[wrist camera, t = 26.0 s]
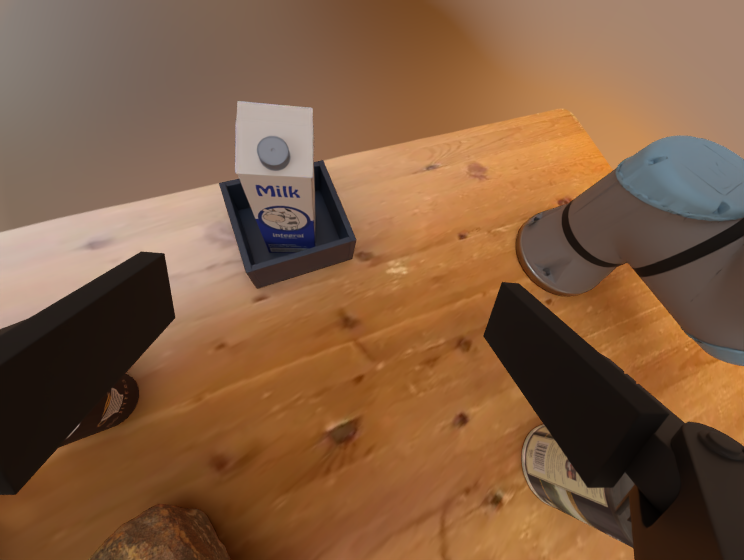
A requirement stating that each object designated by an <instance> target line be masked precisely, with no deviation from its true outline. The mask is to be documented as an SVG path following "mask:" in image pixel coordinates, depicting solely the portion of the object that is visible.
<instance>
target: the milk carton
mask: <svg viewBox="0 0 744 560" xmlns="http://www.w3.org/2000/svg"><path fill="white" fill-rule="evenodd" d="M235 173H237V174H238V177H239V179H240V182H241V184H242V187H243V189H244V192H245V194H246V197H247V199H248V202H249V204H250V207H251V209H252V212H253V214H254V216H255V219H256V221H257V224H258V226H259V229H260V231H261V234H262V236H263V239H264V241H265V244H266V246H267V249H268V251H269V253H295V252H299V251H302V250H305V249H309V248H312V247H315V241H316V206H315V181H314V130H313V110H312V108H307V107H296V106H285V105H275V104H264V103H253V102H242V101H238V104H237V119H236V141H235Z"/></svg>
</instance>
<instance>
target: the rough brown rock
mask: <svg viewBox="0 0 744 560" xmlns="http://www.w3.org/2000/svg"><path fill="white" fill-rule="evenodd" d="M88 560H231V559H230V557H229V555H228V554H227V552H226V548H225V546H224V544H223V543H221V542H220V541H219V539H218V537H217V535H216V532H215V530H214V528H213V527H212V525H211V523H210V521H209V519H208V517H207V515H206V514H205V513H204V512H202V511H200V510H199V509H182V508H181V507H176V506H171V505H166V504H158V505H155V506H153V507H151V508H149V509H148V510H146V511H144V512H142V513H141V514H140V515H139V516H137V517H135V518H134V519H132V520H130V521H129V522H127V523H125V524H123V525H122V526H120V527H119V528H118V529H117V530H116V531H115V532H114V533H113V534H112V535H111V536H110V537H109V538H108V539H107V540H106V541H105V542H104V543H103V544H102V545H101V546H100V548H99V549H98V550H97V551H96V552H95V553H94V554H93V555H92V556H91V557H90V558H89V559H88Z"/></svg>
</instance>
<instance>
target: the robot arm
mask: <svg viewBox="0 0 744 560" xmlns="http://www.w3.org/2000/svg"><path fill="white" fill-rule="evenodd" d="M516 251H517V256H518V259H519V262H520V264H521V266H522V268H523V269H524V271H525V272H526V274H527V275H528V276H529V277H530V278H531V280H532V281H533V282H535V283H536V284H537V285H538V286H540V287H541V288H543V289H544V290H546V291H548V292H550V293H553V294H556V295H560V296H575V295H578V294H581V293H584V292H587V291H589V290H591V289H593V288H594V287H595V286H597V285H598V284H599V283H600V282H601V281H602V280H603V279H604V278H605V277H606V276H608V275H609V274H610V273H611V272H612V271H613V270H614V269H615V268H616V267H618V266H620V265H623V264H625V263H628V264H629V265H630V266H631V267H632V268H633V269H634V271H635V272H636V273H637V274H638V275H639V277H640V278H641V279H642V280H643V281H644V283H645V284H646V285H647V286H648V287H649V289H650V290H651V291H652V292H653V294H654V295H655V296H656V297H657V298H658V300H659V301H660V302H661V303H662V304H663V306H664V307H665V308H666V309H667V311H668V312H669V313H670V314H671V315H672V317H673V318H674V319H675V320H676V321H677V323H678V324H679V325H680V327H681V329H682V330H684V332H685V333H686V334H687V335H688V336H689V337H690V338H692V339H693V340H694V341H695V342H696V343H697V344H698V345H699V346H700V347H701V348H702V349H703V350H704V351H705V352H707V353H708V354H709V355H711V356H713V357H715V358H717V359H719V360H721V361H724V362H727V363H730V364H735V365H740V366H744V159H742V158H741V157H740V156H738V155H737V154H735V153H734V152H732V151H730V150H729V149H727V148H725V147H724V146H721V145H719V144H717V143H715V142H712V141H709V140H706V139H703V138H696V137H692V136H671V137H666V138H662V139H660V140H657V141H655V142H653V143H651V144H650V145H648V146H647V147H645V148H644V149H642V150H641V151H639V152H638V153H636V154H635V155H633V156H631V157H629V158H627V159H625V160H623V161H622V162H621V163H620V164H619V165H618V167H617V168H616V169H615V170H613V171H612V172H611V173H609V174H608V175H607V176H605V177H604V178H602V179H601V180H600V181H598V182H597V183H596V184H594V185H593V186H591V187H590V188H589V189H587V190H586V191H585V192H583V193H582V194H580V195H579V196H578V197H576V198H575V199H574V200H572V201H571V202H570V203H568V204H566V205H562V206H559V207H556V208H553V209H550V210H547V211H544V212H541V213H538V214H536V215H535V216H533V217H532V218H530V219H529V220H528V221H527V222H526V223H524V224H523V226H522V227H521V228H520V230H519V232H518V235H517V238H516ZM174 319H175V313H174V307H173V301H172V295H171V289H170V284H169V278H168V272H167V266H166V260H165V254H163V253H152V252H140V253H138V254H137V255H135V256H133V257H131V258H130V259H128V260H126V261H125V262H123V263H121V264H120V265H118V266H116V267H115V268H113V269H111V270H110V271H108V272H106V273H105V274H103V275H101V276H99V277H98V278H96V279H94V280H93V281H91V282H89V283H88V284H86V285H84V286H83V287H81V288H79V289H78V290H76V291H74V292H72V293H71V294H69V295H67V296H66V297H64V298H62V299H61V300H59V301H57V302H56V303H54V304H52V305H51V306H49V307H47V308H46V309H44V310H42V311H40V312H39V313H37V314H35V315H34V316H32V317H30V318H29V319H26V320H23V321H21V322H18V323H16V324H13V325H10V326H8V327H5V328H2V329H0V495H16V494H17V493H18V492H19V490H20V489H21V488H22V487H23V486H24V485H25V484H26V483H27V482H28V480H29V479H30V478H31V477H32V476H33V475H34V474H35V473H36V472H37V471H38V469H39V468H40V467H41V466H42V465H43V464H44V463H45V462H46V461H47V459H48V458H49V457H50V456H51V455H52V454H53V453H54V452H55V451H56V449H57V448H58V447H59V446H60V445H61V444H62V443H63V442H64V441H65V440H66V438H67V437H68V436H69V435H70V434H71V433H72V432H73V431H74V430H75V428H76V427H77V426H78V425H79V424H80V423H81V422H82V421H83V420H84V418H85V417H86V416H87V415H88V414H89V413H90V412H91V411H92V410H93V408H94V407H95V406H96V405H97V404H98V403H99V402H100V401H101V400H102V399H103V397H104V396H105V395H106V394H107V393H108V392H109V391H110V390H111V389H112V387H113V386H114V385H115V384H116V383H117V382H118V381H119V380H120V379H121V377H122V376H123V375H124V374H125V373H126V372H127V371H128V370H129V369H130V368H131V366H132V365H133V364H134V363H135V362H136V361H137V360H138V359H139V358H140V356H141V355H142V354H143V353H144V352H145V351H146V350H147V349H148V348H149V346H150V345H151V344H152V343H153V342H154V341H155V340H156V339H157V338H158V336H159V335H160V334H161V333H162V332H163V331H164V330H165V329H166V328H167V327H168V325H169V324H170V323H171V322H172V321H173V320H174ZM483 336H484V338H485V339H486V341H487V342H488V344H489V345H490V346H491V348H492V349H493V351H494V352H495V354H496V355H497V357H498V358H499V360H500V361H501V362H502V364H503V365H504V367H505V368H506V370H507V371H508V373H509V374H510V376H511V377H512V379H513V380H514V381H515V383H516V384H517V386H518V387H519V389H520V390H521V392H522V393H523V395H524V396H525V397H526V399H527V400H528V402H529V403H530V405H531V406H532V408H533V409H534V411H535V412H536V414H537V415H538V416H539V418H540V419H541V421H542V422H543V424H544V425H545V427H546V428H547V430H548V431H549V432H550V434H551V435H552V437H553V438H554V440H555V441H556V443H557V444H558V446H559V447H560V448H561V450H562V451H563V453H564V454H565V456H566V457H567V459H568V460H569V462H570V463H571V465H572V466H573V467H574V469H575V470H576V472H577V473H578V475H579V476H580V478H581V479H582V481H583V482H584V483H585V485H586V486H587V488H613V487H614V486H615V485H616V484H617V482H618V481H619V480H620V478H621V477H622V476H623V474H624V473H626V474H627V475H628V477H629V478H630V479H631V480H632V481H633V483H634V486H633V487H632V488H631V489H630V491H629V492H628V493H627V494H626V496H625V497H624V498H623V499H622V501H621V502H620V503H619V504H618V506H617V507H616V511H615V513H616V514H617V515H619V516H620V515H621V514H622V513H623V512H624V511H625V509H628V508H629V509H630V514H631V516H630V517H629V518H628V519H627V521H629V522H631V525H632V536H633V548H634V559H635V560H744V446H743V445H741V444H740V443H738V442H737V441H735V440H734V439H732V438H731V437H729V436H728V435H726V434H724V433H722V432H720V431H718V430H716V429H714V428H712V427H709V426H706V425H703V424H700V423H695V422H687V423H684V422H683V421H682V420H680V419H679V418H678V417H677V416H676V415H675V414H673V413H672V412H671V411H670V410H669V409H668V408H666V407H665V406H664V405H663V404H662V403H661V402H659V401H658V400H657V399H656V398H655V397H654V396H652V395H651V394H650V393H649V392H648V391H646V390H645V389H644V388H643V387H642V386H641V385H639V384H636V381H635V380H634V379H632V378H631V377H630V376H629V375H628V374H624V371H623V370H622V369H621V368H620V367H618V366H617V365H616V364H615V363H614V362H612V361H611V360H610V359H608V358H607V357H605V356H604V355H602V354H600V353H599V352H598V351H596V350H595V349H594V348H593V347H592V346H591V345H589V344H588V343H587V342H586V341H585V340H584V339H582V338H581V337H580V336H579V335H578V334H577V333H576V332H574V331H573V330H572V329H571V328H570V327H569V326H567V325H566V324H565V323H564V322H563V321H562V320H560V319H559V318H558V317H557V316H556V315H555V314H554V313H552V312H551V311H550V310H549V309H548V308H547V307H545V306H544V305H543V304H542V303H541V302H540V301H538V300H537V299H536V298H535V297H534V296H533V295H532V294H530V293H529V292H528V291H527V290H526V289H525V288H523V287H522V286H521V285H520V284H518V283H507V282H502V283H501V286H500V289H499V292H498V295H497V298H496V301H495V304H494V307H493V309H492V312H491V315H490V318H489V321H488V324H487V327H486V330H485V333H484V335H483Z"/></svg>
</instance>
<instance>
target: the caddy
mask: <svg viewBox="0 0 744 560" xmlns="http://www.w3.org/2000/svg"><path fill="white" fill-rule="evenodd" d="M314 181H315V206H316V241H315V247H312V248H309V249H305V250H302V251H299V252H295V253H269V251H268V249H267V246H266V244H265V241H264V239H263V236H262V234H261V231H260V229H259V226H258V224H257V221H256V219H255V216H254V214H253V212H252V209H251V207H250V204H249V202H248V199H247V197H246V194H245V192H244V189H243V187H242V184H241V182H240V179H235V180H231V181H226V182H222V183H219V185H220V188H221V192H222V195H223V198H224V201H225V205H226V208H227V211H228V215H229V218H230V221H231V224H232V228H233V231H234V234H235V238H236V241H237V244H238V247H239V251H240V254H241V257H242V261H243V264H244V267H245V271H246V273H247V275H248V276H249V278H250V279H251V281H252V282H253V284H254V285H255V286H256V288H257V289H258V288H261V287H264V286H267V285H271V284H274V283H277V282H280V281H283V280H286V279H290V278H293V277H296V276H299V275H302V274H306V273H309V272H312V271H315V270H318V269H321V268H325V267H328V266H331V265H334V264H337V263H341V262H344V261H347V260H350V259H352V257H353V252H354V248H355V244H356V238H355V235H354V233H353V231H352V228H351V226H350V223H349V221H348V219H347V216H346V214H345V212H344V209H343V207H342V204H341V202H340V200H339V197H338V195H337V192H336V190H335V188H334V185H333V183H332V180H331V178H330V176H329V173H328V171H327V169H326V166H325V164H324V161H323V160H322V161H318V162H314Z"/></svg>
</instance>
